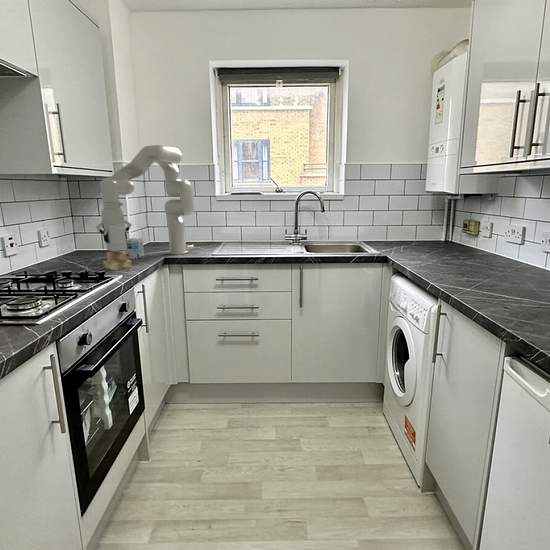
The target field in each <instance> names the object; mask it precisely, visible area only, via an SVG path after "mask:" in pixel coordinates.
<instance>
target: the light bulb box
mask: <svg viewBox="0 0 550 550" xmlns="http://www.w3.org/2000/svg"><path fill="white" fill-rule="evenodd" d="M126 245H127V249H126V250H122V251H126V254H127V259H128V260H136V259H139V258H141V256H142V257H144V256H145V251H144V241H143V237H130V238H127V239H126ZM138 257H139V258H138ZM135 258H136V259H135Z"/></svg>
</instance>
